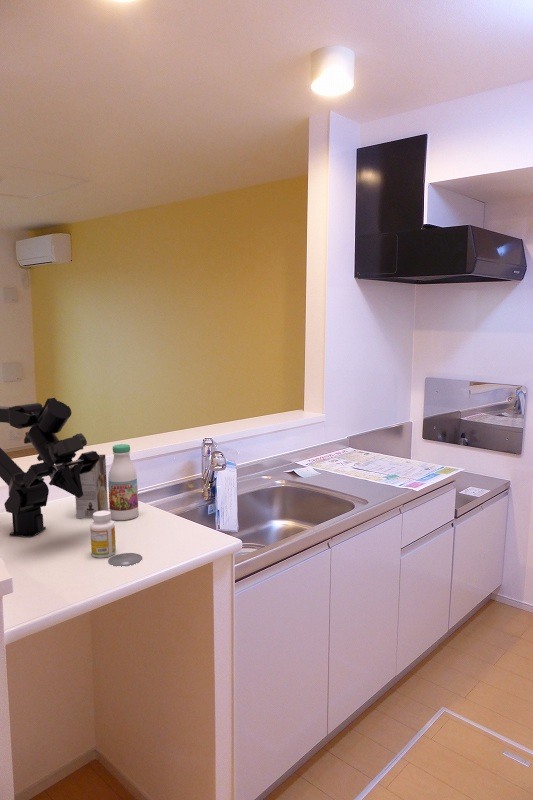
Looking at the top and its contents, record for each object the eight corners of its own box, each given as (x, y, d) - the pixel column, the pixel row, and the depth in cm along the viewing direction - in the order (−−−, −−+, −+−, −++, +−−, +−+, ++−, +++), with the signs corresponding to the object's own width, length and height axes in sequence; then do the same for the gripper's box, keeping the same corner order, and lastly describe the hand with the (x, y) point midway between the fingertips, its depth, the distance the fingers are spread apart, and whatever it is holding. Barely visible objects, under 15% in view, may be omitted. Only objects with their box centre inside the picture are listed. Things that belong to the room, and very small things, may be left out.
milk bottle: (107, 514, 164) (104, 444, 162) (135, 510, 167) (132, 441, 165) (112, 522, 157) (108, 449, 154) (141, 518, 160) (138, 446, 158)
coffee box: (86, 508, 170) (83, 454, 168) (108, 508, 169) (106, 454, 167) (75, 519, 160) (72, 461, 158) (99, 518, 160) (96, 461, 158)
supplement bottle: (106, 547, 139) (104, 507, 138) (120, 553, 136) (118, 512, 134) (86, 554, 135) (84, 513, 134) (100, 560, 132) (98, 518, 130)
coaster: (102, 566, 129) (102, 564, 129) (117, 553, 136) (117, 551, 136) (134, 568, 127) (134, 567, 127) (147, 555, 134) (147, 554, 134)
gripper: (27, 430, 130) (63, 485, 126) (93, 418, 146) (127, 467, 141) (8, 461, 135) (41, 515, 131) (73, 446, 151) (105, 494, 147)
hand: (81, 496), depth 137 cm, fingers closed
